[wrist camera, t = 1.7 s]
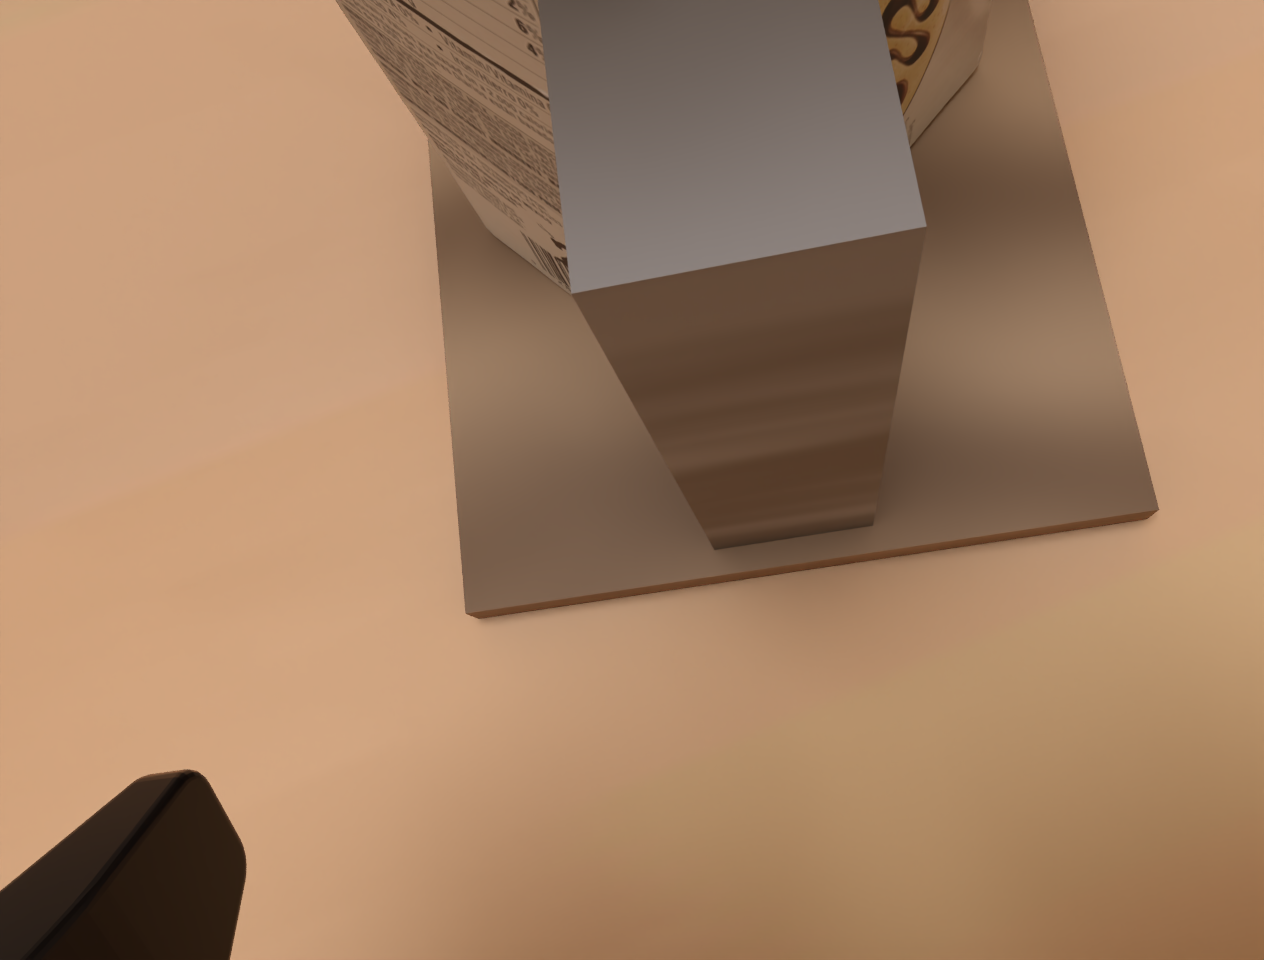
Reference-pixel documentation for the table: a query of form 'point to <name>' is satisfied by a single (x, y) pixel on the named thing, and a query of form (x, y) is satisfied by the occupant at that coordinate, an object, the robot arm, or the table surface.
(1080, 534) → the table surface
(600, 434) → the pull board
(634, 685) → the table surface
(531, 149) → the coffee box
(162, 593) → the table surface
